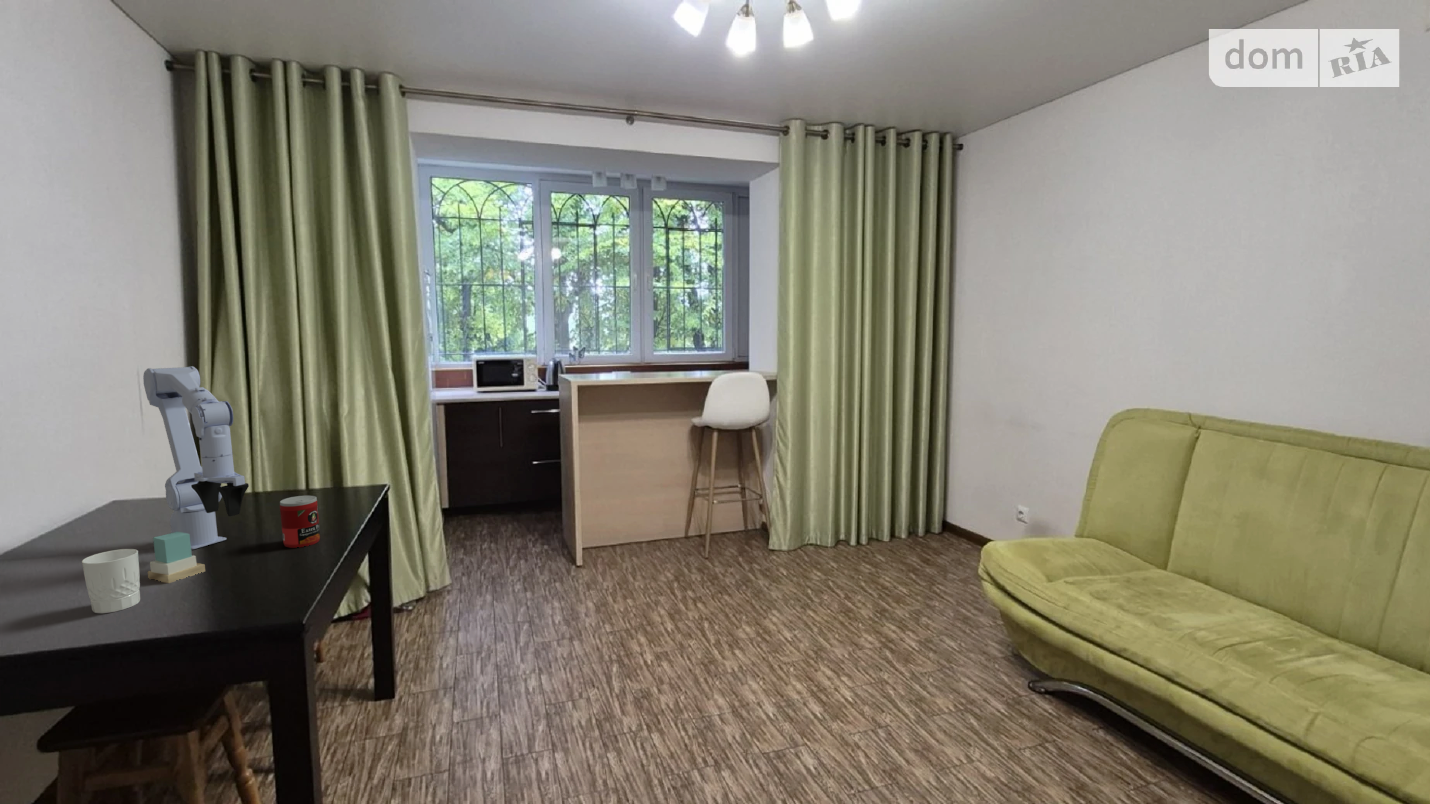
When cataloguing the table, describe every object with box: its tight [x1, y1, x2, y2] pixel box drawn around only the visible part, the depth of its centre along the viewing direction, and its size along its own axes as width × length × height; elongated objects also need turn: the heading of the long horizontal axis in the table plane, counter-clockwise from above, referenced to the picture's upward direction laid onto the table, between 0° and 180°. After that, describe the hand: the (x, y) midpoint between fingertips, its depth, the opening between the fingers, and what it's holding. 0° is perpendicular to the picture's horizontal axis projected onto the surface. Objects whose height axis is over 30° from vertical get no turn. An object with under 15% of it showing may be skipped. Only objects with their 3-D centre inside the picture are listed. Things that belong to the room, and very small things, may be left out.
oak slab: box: [147, 562, 206, 584], centre depth 140 cm, size 7×7×2 cm
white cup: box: [81, 548, 141, 614], centre depth 124 cm, size 8×8×10 cm
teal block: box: [152, 532, 193, 563], centre depth 139 cm, size 4×4×5 cm
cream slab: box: [149, 554, 198, 575], centre depth 139 cm, size 6×6×2 cm
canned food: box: [279, 495, 321, 549], centre depth 160 cm, size 8×8×11 cm
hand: (223, 513), depth 150 cm, fingers open, 7 cm apart
